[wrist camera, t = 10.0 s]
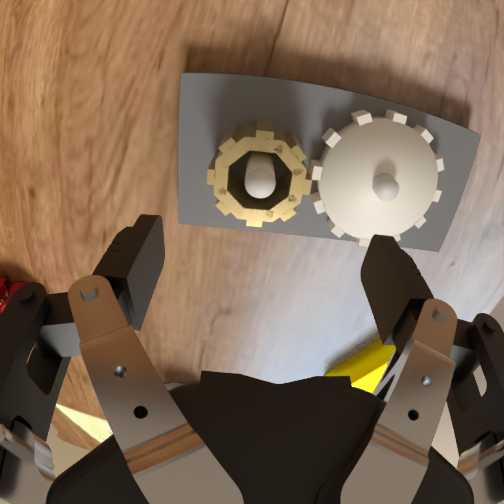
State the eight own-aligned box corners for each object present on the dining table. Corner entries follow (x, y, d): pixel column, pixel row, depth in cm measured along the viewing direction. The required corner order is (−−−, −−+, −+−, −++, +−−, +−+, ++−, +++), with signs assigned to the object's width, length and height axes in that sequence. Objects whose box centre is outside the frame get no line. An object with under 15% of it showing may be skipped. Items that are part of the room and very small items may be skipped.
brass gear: (218, 115, 19) (209, 126, 16) (309, 125, 20) (320, 138, 16) (213, 196, 23) (205, 221, 20) (295, 204, 23) (301, 231, 20)
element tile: (316, 375, 41) (320, 404, 37) (401, 319, 34) (413, 349, 30) (372, 398, 46) (377, 421, 42) (444, 354, 39) (453, 377, 35)
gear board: (187, 72, 19) (155, 77, 13) (468, 128, 20) (520, 157, 14) (183, 212, 26) (161, 264, 20) (430, 240, 27) (463, 288, 21)
